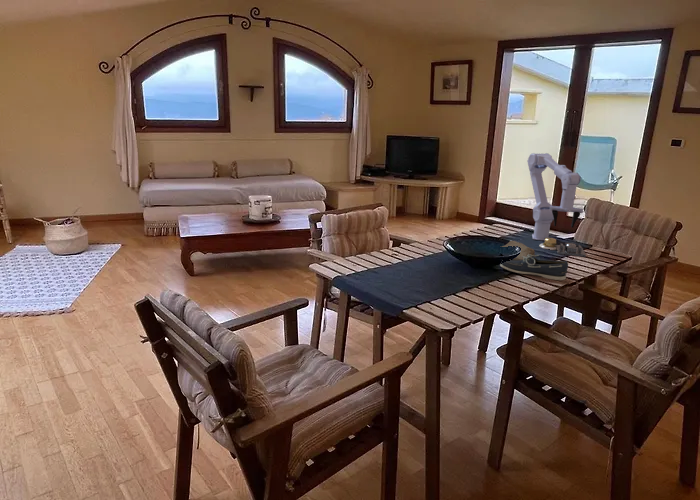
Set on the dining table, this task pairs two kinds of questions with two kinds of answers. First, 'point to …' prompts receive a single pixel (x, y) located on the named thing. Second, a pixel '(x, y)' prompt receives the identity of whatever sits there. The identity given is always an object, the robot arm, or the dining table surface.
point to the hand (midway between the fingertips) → (563, 226)
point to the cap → (550, 242)
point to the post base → (570, 250)
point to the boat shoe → (538, 267)
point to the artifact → (524, 250)
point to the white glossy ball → (547, 247)
